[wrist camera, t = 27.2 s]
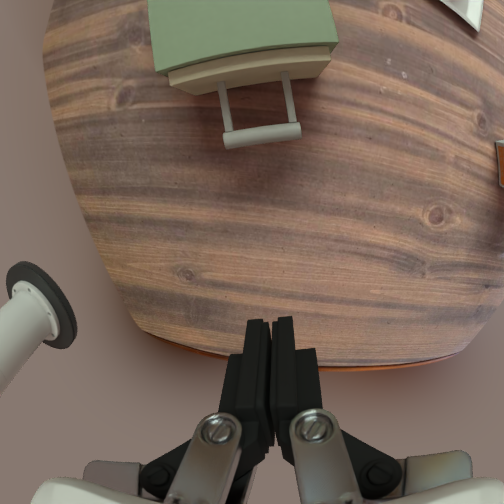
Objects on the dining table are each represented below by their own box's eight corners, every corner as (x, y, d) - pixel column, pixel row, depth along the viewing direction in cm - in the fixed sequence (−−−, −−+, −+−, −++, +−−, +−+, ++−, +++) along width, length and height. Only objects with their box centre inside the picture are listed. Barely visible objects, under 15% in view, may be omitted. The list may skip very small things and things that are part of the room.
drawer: (326, 135, 23) (343, 137, 17) (205, 151, 25) (183, 159, 19) (290, -31, 16) (293, -65, 9) (179, -11, 17) (155, -40, 11)
